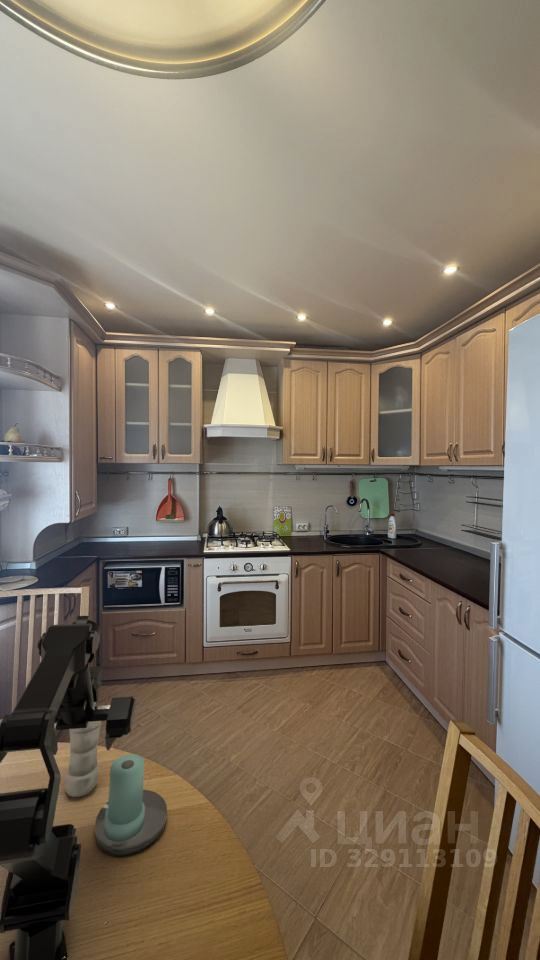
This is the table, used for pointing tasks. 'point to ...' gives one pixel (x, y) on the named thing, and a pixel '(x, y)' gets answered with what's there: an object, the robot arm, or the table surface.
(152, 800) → the turntable
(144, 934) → the table surface
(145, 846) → the base
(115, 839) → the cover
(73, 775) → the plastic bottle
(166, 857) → the table surface
